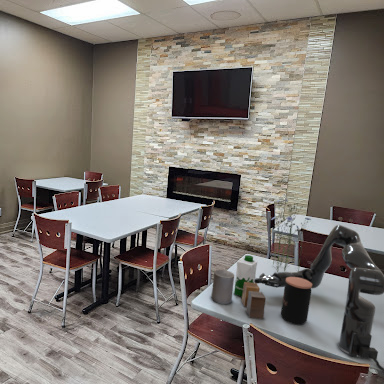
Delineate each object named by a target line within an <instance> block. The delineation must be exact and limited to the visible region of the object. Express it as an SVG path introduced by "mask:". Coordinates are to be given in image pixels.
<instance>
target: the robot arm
mask: <svg viewBox="0 0 384 384" xmlns="http://www.w3.org/2000/svg"><path fill="white" fill-rule="evenodd" d="M334 244H336V245H338V246H340V247H343V248H342V250H341V256H342V259H343V261H344V264H346V266H347V267H348V268H349V269H350V271H349V275H348V283H347V293H346V301H345V307H344V312H343V317H342V324H341V329H340V334H339V335H340V336H339V342H338V345H337V346H338V349H339V350H341V351H342V352H343V353H345V354H346V355H348V356H349V357H350V358H351V357H352V358H360V359H367V360H369V359H370V360H372V361H374V363H375V365H376V366H377V367H378V368H379V369H380V370H381V371H382V372H384V368H383V367H382V365H381V364H380V363H379V361H378V359H377V358H378V354H379V351H378V350H377V349H376V348H375V347H371V343H372V338H373V336H372V330H373V324H374V320H375V316H376V315H375V314H376V305H375V304H374V303H373V302H372V301H370V300H368V299H366V298H365V297H363V296H361V295H360V293H361V294H365V295H370V296H382V295H383V294H384V273H383V272H382V270H381V269H380V268H379V267H378V266H377V265H376V264H375V263H374V261H373V260H372V258H371V257H370V255H369V252H367V249H366V248H365V247H364V245H363V243H362V241H361V237H360V234H359V233H358V232H357V231H356V230H355V229H351V228H349V227H346V226H344V225H341V224H336V225H335V226H334V227H332V229H331V231H330V232H329V234H328V236H327V237H326V239H325V241H324V243H323V245H322V246H321V249H320V251H319V252H318V255H317V256H316V257H315V259H314V260H313V261H312V263H311V264H310V268H309V267H308V268H307V267H306V268H304V269H302V270H299V271H298V270H297V271H298V272H297V271H292V272H291V271H290V272H289V271H282V272H281V271H278V272H277V271H276V272H274V273H273V274H268V275H265V273H264V272H263V273H261V274H259V276H258V277H255V282H254V283H257V284H262V285H265V286H267V287H272V288H276V289H277V288H285V283H286V278H287V277H298V278H302V279H305V280H307V281H309V282H311V283H312V287H311V289H317V288H318V287H320V285H321V283H322V282H323V278H324V275H325V273H326V272H327V270H328V269H329V267H330V266H331V264H332V261H333V257H332V255H333V254H332V248H333V245H334Z"/></svg>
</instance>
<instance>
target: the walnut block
mask: <svg viewBox="0 0 384 384" xmlns="http://www.w3.org/2000/svg"><path fill="white" fill-rule="evenodd" d="M266 299H267V298H266V296H265V295H264V293H263V292H262V291H259V292H255V291H249V293H248V301H247V307H246V314H247V315H248V318H251V319H258V320H259V319H260V320H264V315H265V308H266Z"/></svg>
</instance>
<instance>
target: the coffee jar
mask: <svg viewBox="0 0 384 384" xmlns="http://www.w3.org/2000/svg"><path fill="white" fill-rule="evenodd" d="M311 287H312V283H311V282H309V281H307V280H305V279H302V278H298V277H287V278H286V283H285V287H283V296H282V302H281V309H280V315H281V317H282V319H283V320H284V321H286V322H287V323H289V324H293V325H297V326H301V325H305V324H306V323H307V322H308V316H309V311H310V310H309V309H310V303H311V296H312V288H311Z"/></svg>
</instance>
